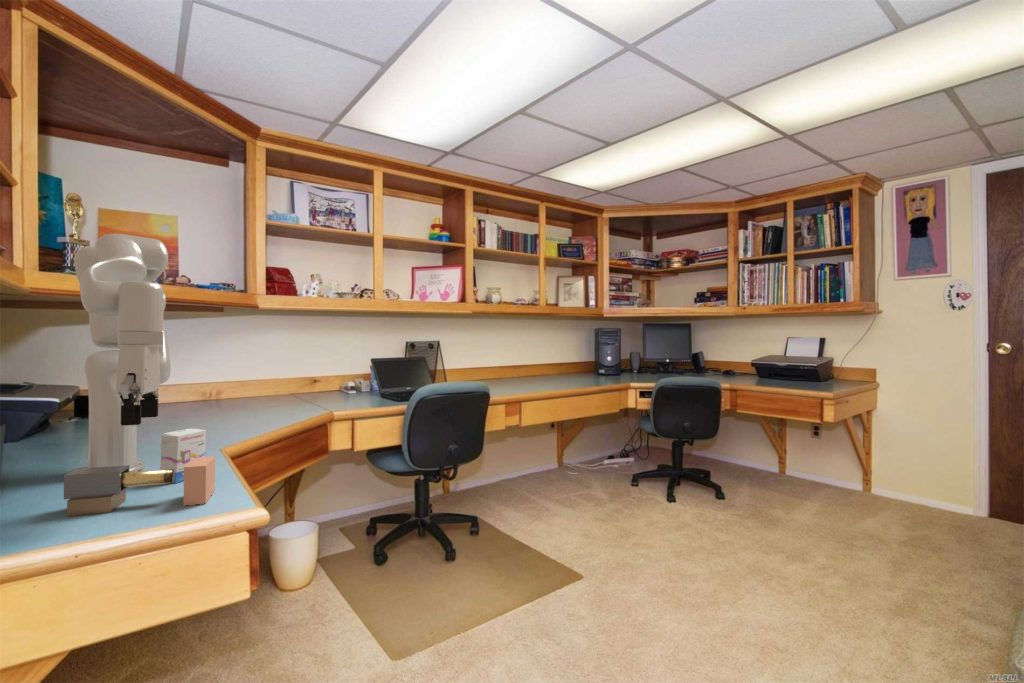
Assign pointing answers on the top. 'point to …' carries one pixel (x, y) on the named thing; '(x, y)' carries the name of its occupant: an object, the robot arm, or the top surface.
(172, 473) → the tube
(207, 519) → the top surface
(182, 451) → the ink box
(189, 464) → the socket
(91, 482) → the grey block
